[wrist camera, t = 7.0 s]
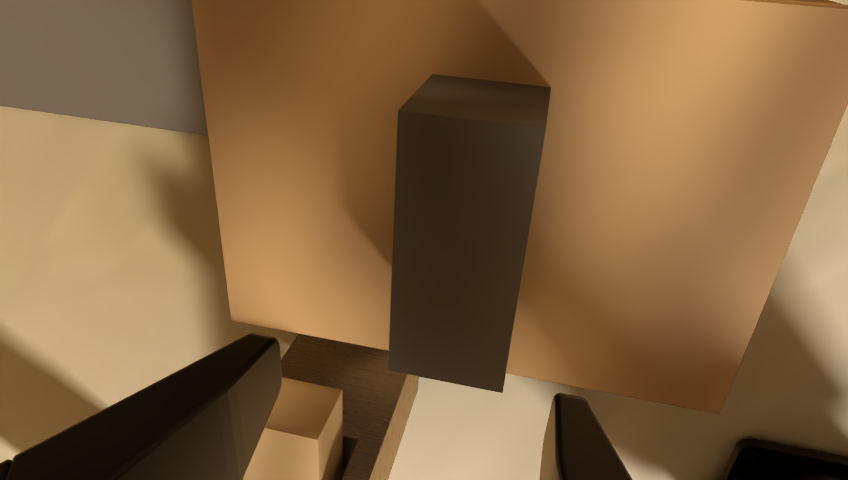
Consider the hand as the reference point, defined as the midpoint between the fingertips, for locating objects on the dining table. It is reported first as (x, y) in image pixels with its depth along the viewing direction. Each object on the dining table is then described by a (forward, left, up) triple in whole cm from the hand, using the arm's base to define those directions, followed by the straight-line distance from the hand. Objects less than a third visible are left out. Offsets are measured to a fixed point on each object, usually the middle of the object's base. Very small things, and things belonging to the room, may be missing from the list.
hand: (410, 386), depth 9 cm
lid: (0, 0, -8) cm, 9 cm away
